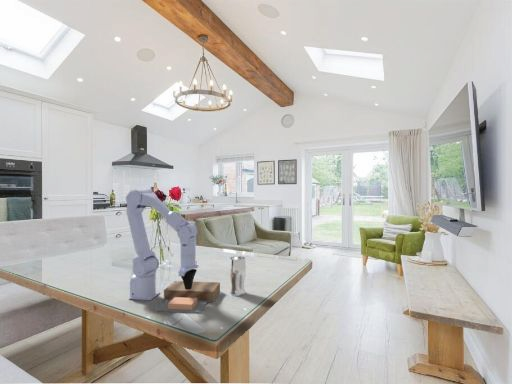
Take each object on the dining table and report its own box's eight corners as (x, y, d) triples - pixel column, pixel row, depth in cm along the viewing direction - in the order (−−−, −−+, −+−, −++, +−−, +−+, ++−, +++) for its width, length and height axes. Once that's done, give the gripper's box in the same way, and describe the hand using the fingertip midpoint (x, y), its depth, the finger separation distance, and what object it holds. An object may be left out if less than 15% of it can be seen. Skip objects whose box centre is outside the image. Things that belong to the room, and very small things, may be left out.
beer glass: (246, 290, 120) (245, 255, 120) (246, 296, 113) (245, 259, 113) (230, 290, 120) (229, 256, 120) (229, 296, 113) (228, 260, 113)
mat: (156, 311, 100) (156, 309, 100) (168, 300, 110) (168, 299, 110) (199, 313, 98) (199, 311, 98) (207, 301, 108) (207, 300, 108)
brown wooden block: (163, 300, 110) (163, 290, 110) (175, 290, 121) (175, 280, 121) (212, 302, 108) (212, 291, 108) (219, 291, 119) (219, 282, 119)
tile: (174, 297, 107) (174, 302, 107) (167, 303, 101) (168, 308, 101) (197, 298, 106) (197, 303, 106) (191, 304, 100) (191, 310, 100)
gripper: (191, 259, 101) (191, 296, 102) (203, 250, 116) (203, 283, 116) (172, 258, 102) (173, 295, 102) (187, 250, 117) (187, 282, 117)
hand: (188, 288), depth 109 cm, fingers closed
